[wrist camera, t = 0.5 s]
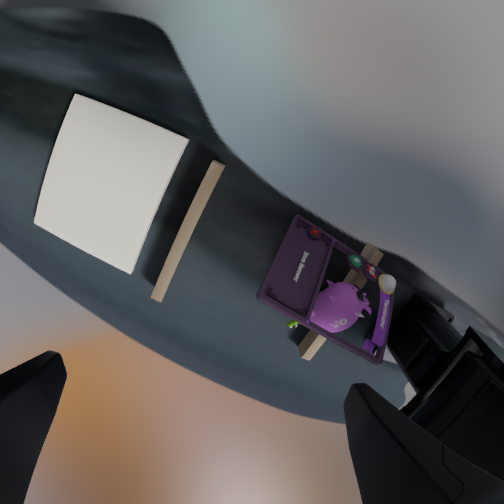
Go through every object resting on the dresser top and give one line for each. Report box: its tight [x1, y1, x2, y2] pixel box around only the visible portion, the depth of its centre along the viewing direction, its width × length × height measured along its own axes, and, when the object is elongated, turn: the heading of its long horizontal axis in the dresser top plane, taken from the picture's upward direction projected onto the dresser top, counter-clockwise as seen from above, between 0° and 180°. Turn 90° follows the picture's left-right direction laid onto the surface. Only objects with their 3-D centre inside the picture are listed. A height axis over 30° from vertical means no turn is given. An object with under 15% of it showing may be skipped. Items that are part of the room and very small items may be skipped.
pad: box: [34, 94, 189, 274], centre depth 18 cm, size 9×10×1 cm
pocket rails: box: [151, 160, 384, 361], centre depth 20 cm, size 13×10×2 cm
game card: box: [256, 214, 396, 365], centre depth 19 cm, size 7×5×9 cm
